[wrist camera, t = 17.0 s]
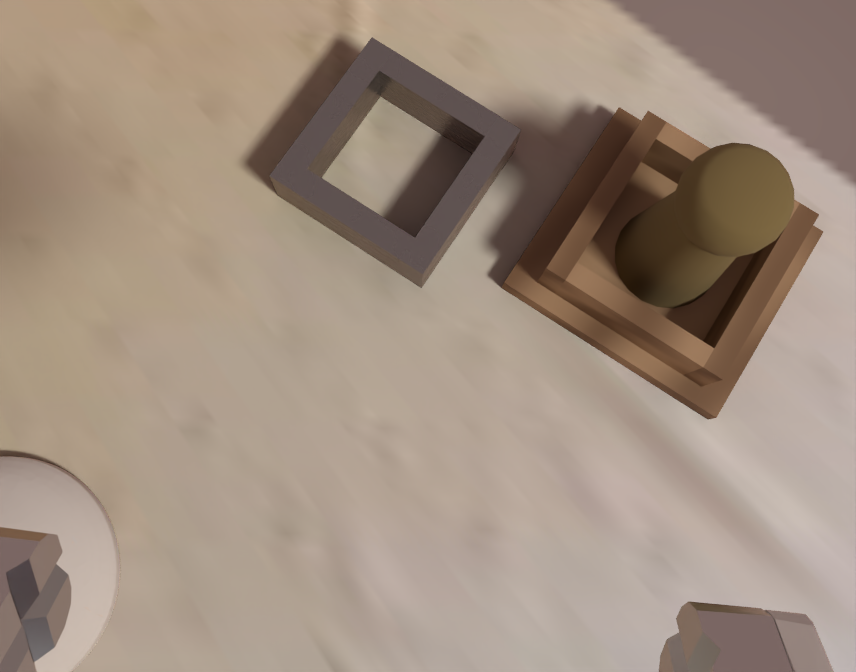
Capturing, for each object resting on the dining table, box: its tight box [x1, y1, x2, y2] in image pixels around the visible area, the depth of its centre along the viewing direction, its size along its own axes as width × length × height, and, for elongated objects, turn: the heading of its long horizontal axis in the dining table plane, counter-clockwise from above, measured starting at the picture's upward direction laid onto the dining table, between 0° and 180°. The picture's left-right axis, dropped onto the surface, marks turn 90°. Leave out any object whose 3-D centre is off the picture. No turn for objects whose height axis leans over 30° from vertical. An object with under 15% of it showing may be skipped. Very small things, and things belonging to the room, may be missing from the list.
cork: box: [615, 143, 794, 308], centre depth 40 cm, size 6×6×11 cm
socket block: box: [269, 38, 521, 288], centre depth 45 cm, size 10×10×3 cm
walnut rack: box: [502, 108, 823, 419], centre depth 44 cm, size 14×13×4 cm
